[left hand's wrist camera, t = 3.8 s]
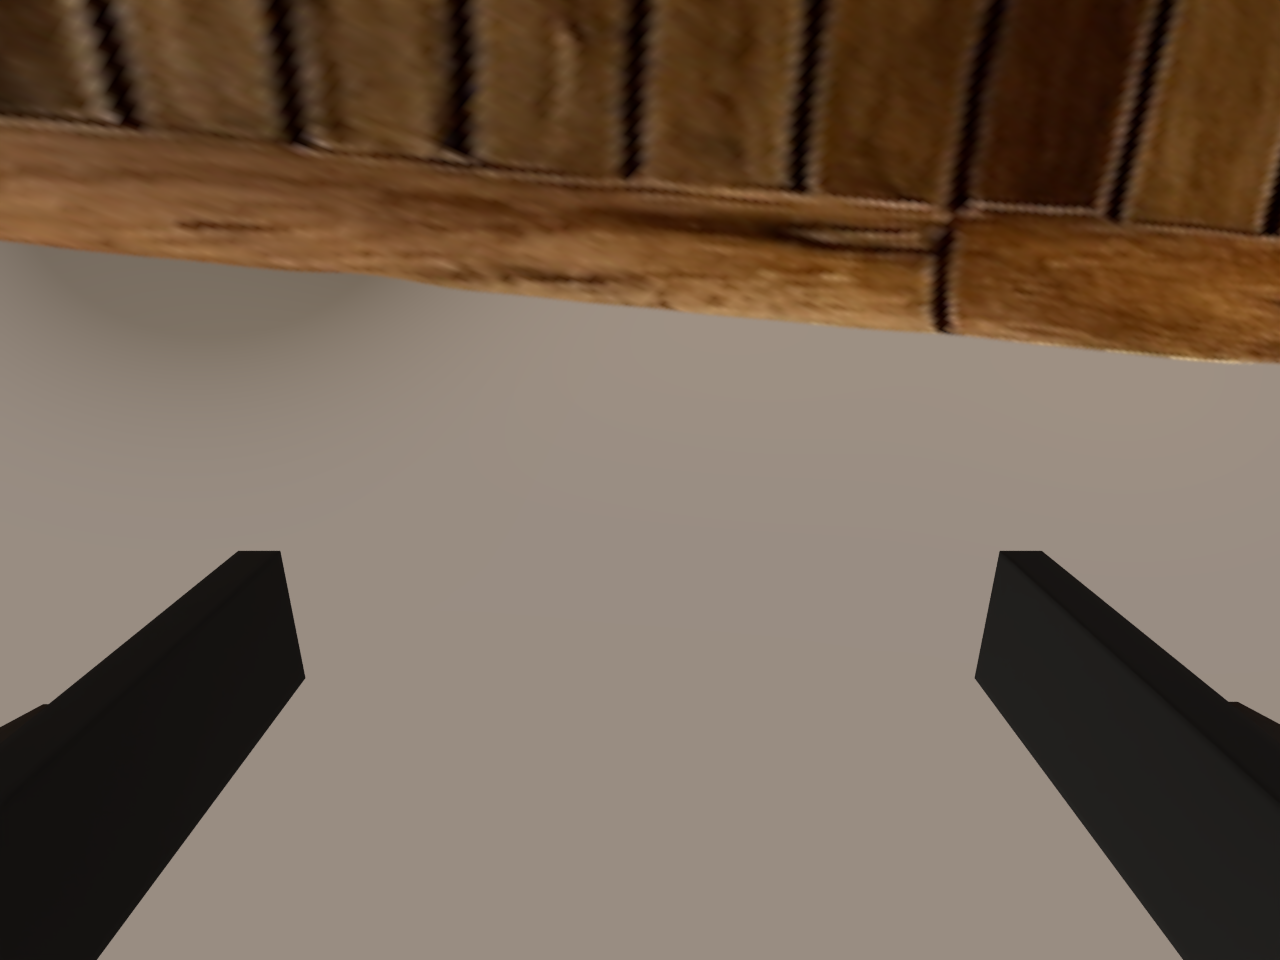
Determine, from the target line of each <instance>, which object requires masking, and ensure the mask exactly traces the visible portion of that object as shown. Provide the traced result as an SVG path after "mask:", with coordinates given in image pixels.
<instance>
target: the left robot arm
mask: <svg viewBox="0 0 1280 960" xmlns="http://www.w3.org/2000/svg"><path fill="white" fill-rule="evenodd" d="M304 679H305V674H304V669H303V664H302V659H301V654H300V649H299V644H298V638H297V634H296V628H295V623H294V618H293V613H292V608H291V603H290V598H289V593H288V588H287V583H286V578H285V573H284V567H283V562H282V557H281V552H280V551H238V552H236V553H235V554H234V555H233V556H231V557H230V558H229V559H228V560H227V561H225V562H224V563H223V564H222V565H220V566H219V567H218V568H217V569H215V570H214V571H213V572H212V573H210V574H209V575H208V576H207V577H205V578H204V579H203V580H202V581H201V582H199V583H198V584H197V585H196V586H194V587H193V588H192V589H191V590H189V591H188V592H187V593H186V594H185V595H183V596H182V597H181V598H179V599H178V600H177V601H176V602H175V603H173V604H172V605H171V606H170V607H168V608H167V609H166V610H165V611H163V612H162V613H161V614H160V615H158V616H157V617H156V618H155V619H154V620H152V621H151V622H150V623H149V624H147V625H146V626H145V627H144V628H142V629H141V630H140V631H139V632H137V633H136V634H135V635H134V636H132V637H131V638H130V639H129V640H128V641H126V642H125V643H124V644H123V645H121V646H120V647H119V648H118V649H116V650H115V651H114V652H113V653H111V654H110V655H109V656H108V657H107V658H105V659H104V660H103V661H102V662H100V663H99V664H98V665H97V666H95V667H94V668H93V669H92V670H90V671H89V672H88V673H87V674H86V675H84V676H83V677H82V678H81V679H79V680H78V681H77V682H76V683H74V684H73V685H72V686H71V687H69V688H68V689H67V690H66V691H65V692H63V693H62V694H61V695H60V696H58V697H57V698H56V699H55V700H53V701H52V702H51V703H50V704H43V705H41V706H39V707H37V708H35V709H34V710H32V711H30V712H28V713H26V714H24V715H22V716H20V717H19V718H17V719H15V720H13V721H11V722H9V723H7V724H6V725H4V726H2V727H0V960H97V959H98V957H99V956H100V955H101V953H102V952H103V951H104V949H105V948H106V947H107V945H108V944H109V942H110V941H111V940H112V938H113V937H114V936H115V934H116V933H117V932H118V930H119V929H120V928H121V926H122V925H123V924H124V922H125V921H126V920H127V918H128V917H129V915H130V914H131V913H132V911H133V910H134V909H135V907H136V906H137V905H138V903H139V902H140V901H141V899H142V898H143V897H144V895H145V894H146V893H147V891H148V890H149V888H150V887H151V886H152V884H153V883H154V882H155V880H156V879H157V878H158V876H159V875H160V874H161V872H162V871H163V870H164V868H165V867H166V866H167V864H168V863H169V861H170V860H171V859H172V857H173V856H174V855H175V853H176V852H177V851H178V849H179V848H180V847H181V845H182V844H183V843H184V841H185V840H186V839H187V837H188V836H189V834H190V833H191V832H192V830H193V829H194V828H195V826H196V825H197V824H198V822H199V821H200V820H201V818H202V817H203V815H204V814H205V813H206V812H207V810H208V809H209V807H210V806H211V805H212V803H213V802H214V801H215V799H216V798H217V797H218V795H219V794H220V793H221V791H222V790H223V789H224V787H225V786H226V784H227V783H228V782H229V780H230V779H231V778H232V776H233V775H234V774H235V772H236V771H237V770H238V768H239V767H240V766H241V764H242V763H243V762H244V760H245V759H246V757H247V756H248V755H249V753H250V752H251V751H252V749H253V748H254V747H255V745H256V744H257V743H258V741H259V740H260V739H261V737H262V736H263V735H264V733H265V732H266V730H267V729H268V728H269V726H270V725H271V724H272V722H273V721H274V720H275V718H276V717H277V716H278V714H279V713H280V712H281V710H282V709H283V708H284V706H285V705H286V703H287V702H288V701H289V699H290V698H291V697H292V695H293V694H294V693H295V691H296V690H297V689H298V687H299V686H300V685H301V683H302V682H303V680H304ZM975 679H976V680H977V682H978V683H979V684H980V686H981V687H982V689H983V690H984V691H985V693H986V694H987V695H988V697H989V698H990V699H991V701H992V702H993V703H994V705H995V706H996V707H997V709H998V710H999V712H1000V713H1001V714H1002V716H1003V717H1004V718H1005V720H1006V721H1007V722H1008V724H1009V725H1010V726H1011V728H1012V729H1013V730H1014V732H1015V733H1016V735H1017V736H1018V737H1019V739H1020V740H1021V741H1022V743H1023V744H1024V745H1025V747H1026V748H1027V749H1028V751H1029V752H1030V753H1031V755H1032V756H1033V757H1034V759H1035V760H1036V762H1037V763H1038V764H1039V766H1040V767H1041V768H1042V770H1043V771H1044V772H1045V774H1046V775H1047V776H1048V778H1049V779H1050V780H1051V782H1052V783H1053V784H1054V786H1055V787H1056V789H1057V790H1058V791H1059V793H1060V794H1061V795H1062V797H1063V798H1064V799H1065V801H1066V802H1067V803H1068V805H1069V806H1070V807H1071V809H1072V810H1073V812H1074V813H1075V814H1076V816H1077V817H1078V818H1079V820H1080V821H1081V822H1082V824H1083V825H1084V826H1085V828H1086V829H1087V830H1088V832H1089V833H1090V834H1091V836H1092V837H1093V839H1094V840H1095V841H1096V843H1097V844H1098V845H1099V847H1100V848H1101V849H1102V851H1103V852H1104V853H1105V855H1106V856H1107V857H1108V859H1109V860H1110V861H1111V863H1112V864H1113V865H1114V867H1115V868H1116V870H1117V871H1118V872H1119V874H1120V875H1121V876H1122V878H1123V879H1124V880H1125V882H1126V883H1127V884H1128V886H1129V887H1130V888H1131V890H1132V891H1133V893H1134V894H1135V895H1136V897H1137V898H1138V899H1139V901H1140V902H1141V903H1142V905H1143V906H1144V907H1145V909H1146V910H1147V911H1148V913H1149V914H1150V916H1151V917H1152V918H1153V920H1154V921H1155V922H1156V924H1157V925H1158V926H1159V928H1160V929H1161V930H1162V932H1163V933H1164V934H1165V936H1166V937H1167V938H1168V940H1169V941H1170V942H1171V944H1172V945H1173V946H1174V948H1175V949H1176V951H1177V952H1178V953H1179V955H1180V956H1181V957H1182V959H1183V960H1280V724H1278V723H1276V722H1274V721H1273V720H1271V719H1269V718H1267V717H1265V716H1263V715H1261V714H1259V713H1258V712H1256V711H1254V710H1252V709H1250V708H1248V707H1246V706H1244V705H1243V704H1241V703H1239V702H1228V701H1227V700H1225V699H1224V698H1223V697H1222V696H1220V695H1219V694H1218V693H1217V692H1216V691H1214V690H1213V689H1212V688H1210V687H1209V686H1208V685H1207V684H1206V683H1204V682H1203V681H1202V680H1201V679H1199V678H1198V677H1197V676H1196V675H1194V674H1193V673H1192V672H1191V671H1190V670H1188V669H1187V668H1186V667H1185V666H1183V665H1182V664H1181V663H1180V662H1178V661H1177V660H1176V659H1175V658H1173V657H1172V656H1171V655H1170V654H1169V653H1167V652H1166V651H1165V650H1164V649H1162V648H1161V647H1160V646H1159V645H1157V644H1156V643H1155V642H1154V641H1152V640H1151V639H1150V638H1149V637H1148V636H1146V635H1145V634H1144V633H1143V632H1141V631H1140V630H1139V629H1138V628H1136V627H1135V626H1134V625H1133V624H1131V623H1130V622H1129V621H1128V620H1126V619H1125V618H1124V617H1123V616H1122V615H1120V614H1119V613H1118V612H1117V611H1115V610H1114V609H1113V608H1112V607H1110V606H1109V605H1108V604H1107V603H1105V602H1104V601H1103V600H1102V599H1101V598H1099V597H1098V596H1097V595H1096V594H1094V593H1093V592H1092V591H1091V590H1089V589H1088V588H1087V587H1086V586H1084V585H1083V584H1082V583H1081V582H1079V581H1078V580H1077V579H1076V578H1075V577H1073V576H1072V575H1071V574H1070V573H1068V572H1067V571H1066V570H1065V569H1063V568H1062V567H1061V566H1060V565H1058V564H1057V563H1056V562H1055V561H1054V560H1052V559H1051V558H1050V557H1049V556H1047V555H1046V554H1045V553H1044V552H1042V551H1000V552H999V557H998V562H997V567H996V573H995V578H994V583H993V588H992V593H991V598H990V603H989V608H988V613H987V618H986V623H985V628H984V634H983V638H982V643H981V649H980V654H979V659H978V664H977V669H976V674H975Z"/></svg>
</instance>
